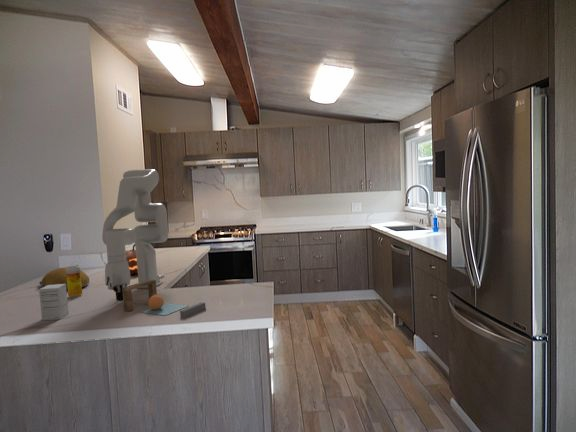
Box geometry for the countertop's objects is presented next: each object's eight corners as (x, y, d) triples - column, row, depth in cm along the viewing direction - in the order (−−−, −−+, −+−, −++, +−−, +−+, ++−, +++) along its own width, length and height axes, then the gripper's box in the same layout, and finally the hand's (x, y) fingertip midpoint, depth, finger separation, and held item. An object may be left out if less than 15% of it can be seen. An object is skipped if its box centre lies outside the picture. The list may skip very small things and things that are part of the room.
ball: (160, 290, 168) (168, 300, 166) (155, 300, 171) (163, 310, 169) (147, 294, 163) (156, 305, 161) (143, 304, 166) (151, 315, 164)
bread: (65, 293, 207) (64, 273, 206) (36, 286, 228) (34, 268, 227) (100, 285, 221) (99, 267, 221) (69, 279, 242) (68, 263, 242)
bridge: (124, 311, 167) (122, 287, 166) (152, 301, 180) (150, 279, 179) (129, 311, 165) (127, 288, 165) (157, 301, 178) (155, 280, 178)
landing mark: (165, 303, 175) (165, 303, 175) (188, 306, 168) (188, 305, 168) (141, 312, 163) (141, 312, 163) (165, 315, 157) (165, 315, 157)
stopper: (201, 308, 164) (201, 302, 164) (205, 308, 163) (205, 302, 163) (180, 317, 154) (180, 310, 154) (184, 317, 153) (183, 311, 153)
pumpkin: (104, 277, 241) (101, 246, 240) (127, 269, 265) (125, 240, 264) (143, 277, 237) (141, 244, 235) (163, 268, 261) (161, 239, 260)
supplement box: (50, 315, 167) (47, 284, 166) (69, 313, 168) (66, 283, 167) (41, 320, 160) (38, 289, 159) (61, 319, 160) (58, 287, 160)
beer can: (76, 298, 194) (73, 266, 193) (65, 298, 195) (62, 267, 195) (85, 294, 200) (82, 264, 199) (74, 294, 201) (71, 264, 200)
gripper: (125, 255, 186) (128, 295, 187) (96, 261, 173) (99, 304, 174) (136, 256, 182) (140, 296, 184) (107, 262, 169) (111, 305, 171)
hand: (120, 300), depth 179 cm, fingers closed
